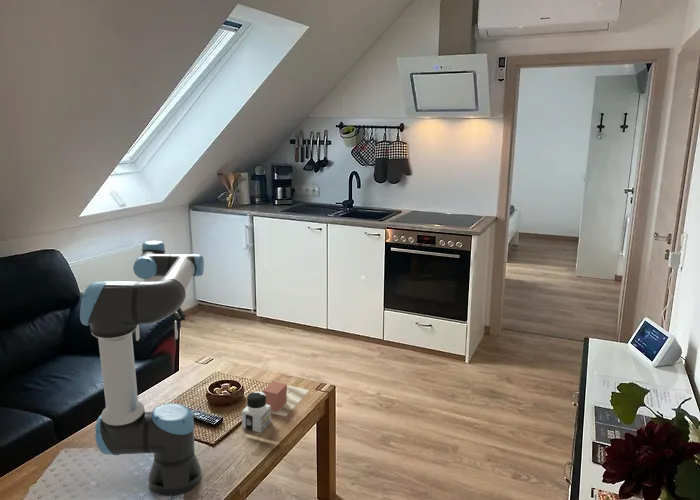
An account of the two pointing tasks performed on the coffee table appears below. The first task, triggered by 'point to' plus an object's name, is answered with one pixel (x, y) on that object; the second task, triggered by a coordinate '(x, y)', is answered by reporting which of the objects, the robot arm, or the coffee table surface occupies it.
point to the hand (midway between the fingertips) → (157, 338)
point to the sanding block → (276, 395)
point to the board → (291, 399)
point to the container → (256, 412)
